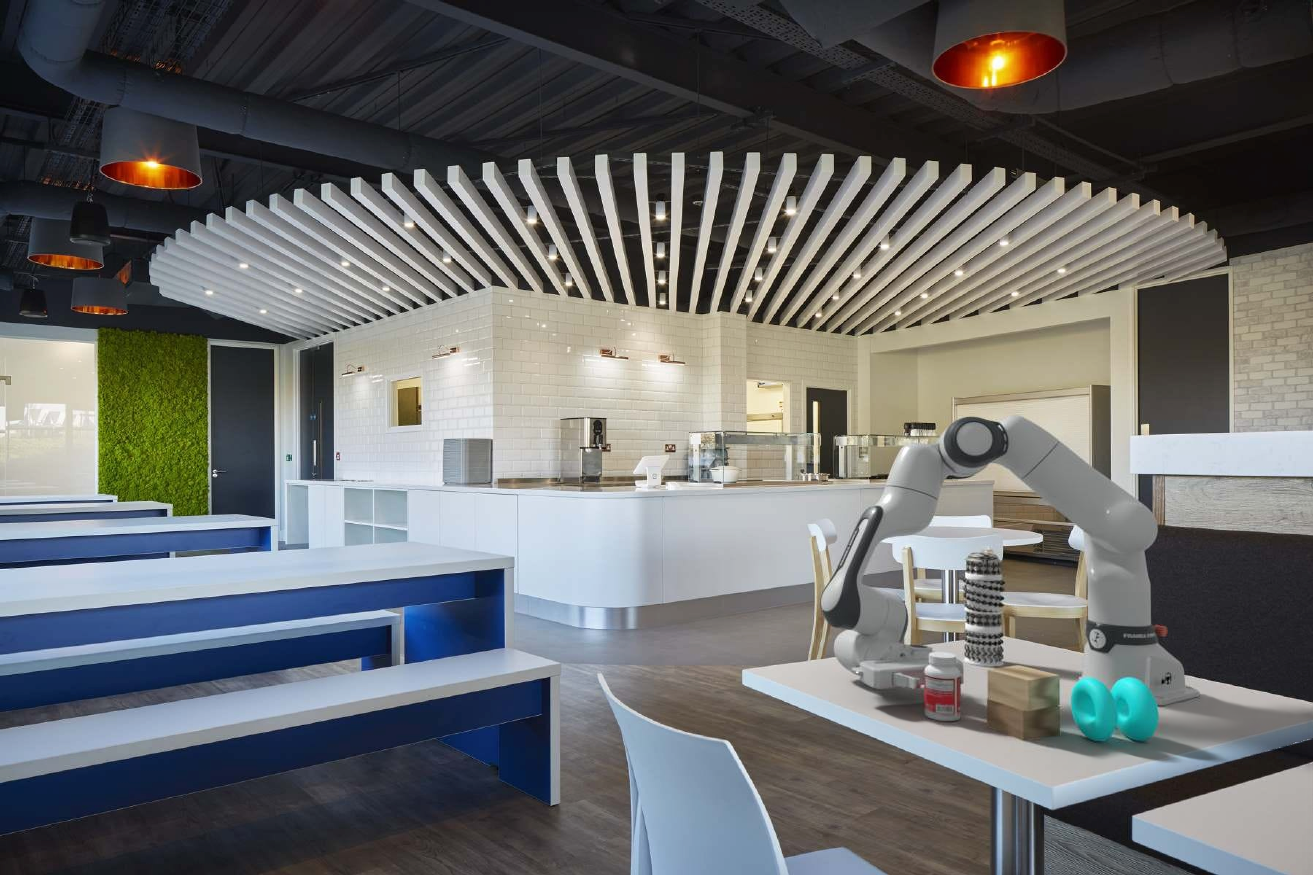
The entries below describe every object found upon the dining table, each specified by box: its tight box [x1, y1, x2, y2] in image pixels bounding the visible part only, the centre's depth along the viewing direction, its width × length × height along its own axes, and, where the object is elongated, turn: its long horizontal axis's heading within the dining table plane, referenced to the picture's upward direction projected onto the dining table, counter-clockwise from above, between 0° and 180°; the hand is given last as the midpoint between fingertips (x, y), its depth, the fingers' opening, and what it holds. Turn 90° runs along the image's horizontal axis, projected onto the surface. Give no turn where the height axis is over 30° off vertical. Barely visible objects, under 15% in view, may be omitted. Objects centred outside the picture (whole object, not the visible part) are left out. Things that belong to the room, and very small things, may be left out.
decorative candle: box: [961, 552, 1006, 668], centre depth 192 cm, size 9×9×25 cm
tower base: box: [986, 697, 1061, 741], centre depth 141 cm, size 8×8×5 cm
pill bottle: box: [923, 651, 962, 722], centre depth 148 cm, size 6×6×11 cm
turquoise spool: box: [1070, 677, 1160, 742], centre depth 137 cm, size 10×10×10 cm
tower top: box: [987, 664, 1061, 711], centre depth 141 cm, size 8×8×5 cm
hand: (939, 681), depth 149 cm, fingers open, 8 cm apart
